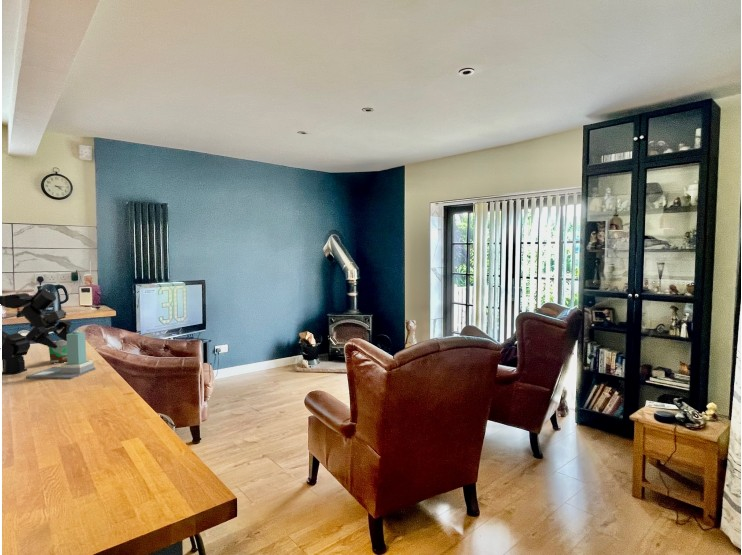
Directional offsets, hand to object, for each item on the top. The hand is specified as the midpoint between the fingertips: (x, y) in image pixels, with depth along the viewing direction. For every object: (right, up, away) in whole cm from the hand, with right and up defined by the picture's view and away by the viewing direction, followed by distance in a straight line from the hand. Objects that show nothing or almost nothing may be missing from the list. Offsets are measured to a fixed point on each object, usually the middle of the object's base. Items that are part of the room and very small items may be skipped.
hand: (64, 345), depth 178 cm
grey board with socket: (0, -11, -1) cm, 11 cm away
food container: (-12, -10, +18) cm, 24 cm away
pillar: (+5, -8, 0) cm, 9 cm away
